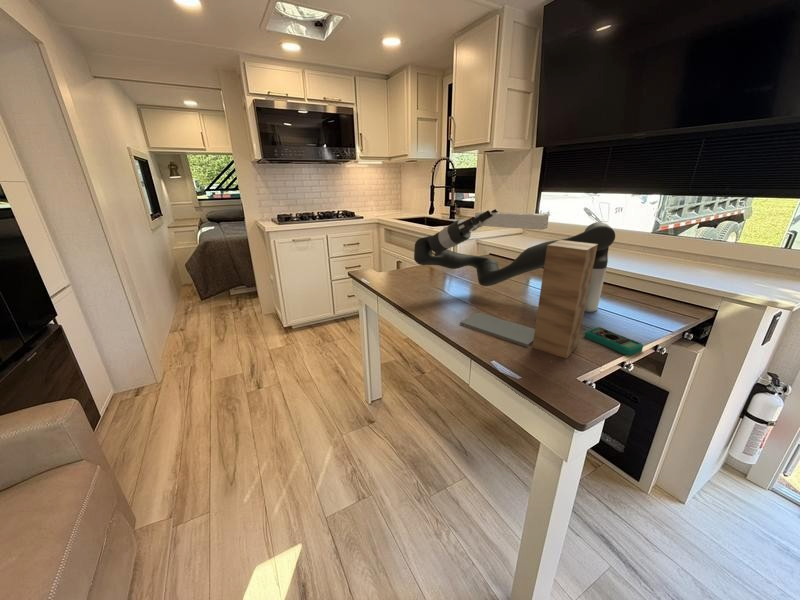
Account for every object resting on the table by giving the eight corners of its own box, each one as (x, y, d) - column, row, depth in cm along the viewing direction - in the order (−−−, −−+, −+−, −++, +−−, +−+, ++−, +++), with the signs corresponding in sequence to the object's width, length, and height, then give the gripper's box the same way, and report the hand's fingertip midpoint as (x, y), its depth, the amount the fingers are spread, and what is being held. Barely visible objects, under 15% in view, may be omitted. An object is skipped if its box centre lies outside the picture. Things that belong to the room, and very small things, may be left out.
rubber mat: (477, 314, 125) (477, 312, 125) (542, 334, 109) (543, 331, 109) (460, 324, 117) (460, 321, 117) (527, 347, 101) (528, 344, 101)
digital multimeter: (596, 332, 111) (597, 324, 110) (643, 352, 98) (645, 343, 97) (581, 337, 108) (583, 329, 107) (628, 358, 95) (630, 349, 94)
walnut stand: (544, 336, 108) (560, 239, 96) (577, 346, 101) (597, 244, 90) (532, 347, 101) (547, 245, 90) (566, 358, 94) (587, 250, 83)
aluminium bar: (480, 224, 110) (481, 211, 108) (547, 228, 95) (548, 214, 94) (474, 225, 107) (474, 212, 106) (541, 229, 92) (543, 215, 91)
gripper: (469, 241, 120) (509, 220, 108) (446, 247, 111) (487, 225, 98) (461, 222, 121) (500, 200, 108) (438, 227, 111) (477, 203, 98)
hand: (493, 212), depth 103 cm, fingers closed on aluminium bar, 4 cm apart
